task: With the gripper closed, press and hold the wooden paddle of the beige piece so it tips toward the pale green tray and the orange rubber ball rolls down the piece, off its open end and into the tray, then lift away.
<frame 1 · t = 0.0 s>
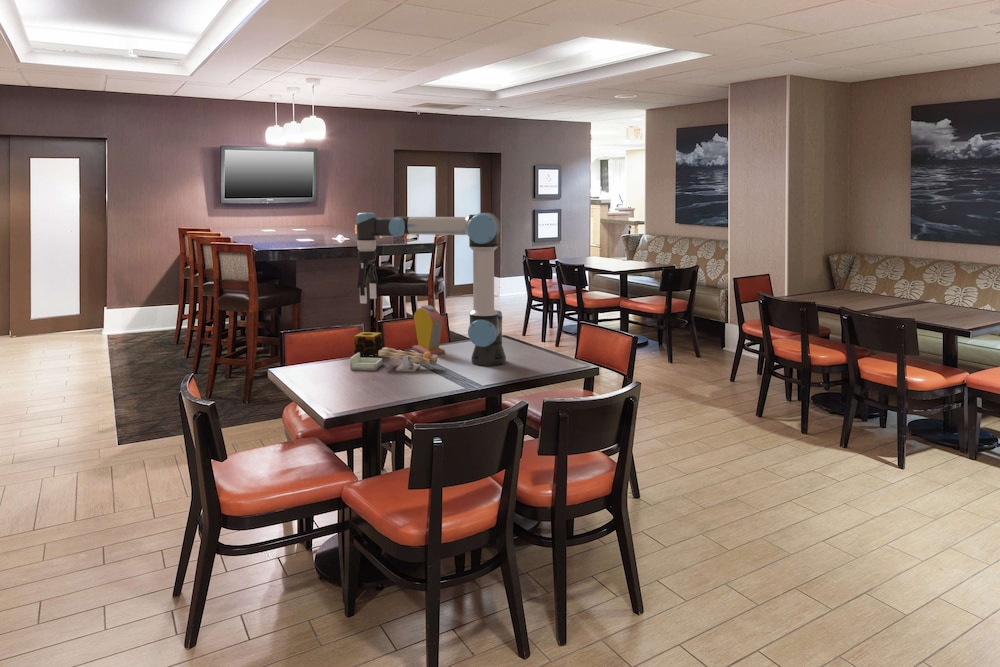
hand: (368, 301, 315), 28 cm above the table, fingers open, 13 cm apart
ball: (427, 355, 313), point 6 cm above the table, tilted 19°, touching beige piece
fulcrum: (408, 368, 315), on the table
beige piece: (408, 354, 317), point 5 cm above the table, hinge at -8.0°, touching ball
tray: (366, 367, 317), on the table
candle: (368, 356, 340), on the table
pink yellow-faced device: (428, 351, 348), on the table
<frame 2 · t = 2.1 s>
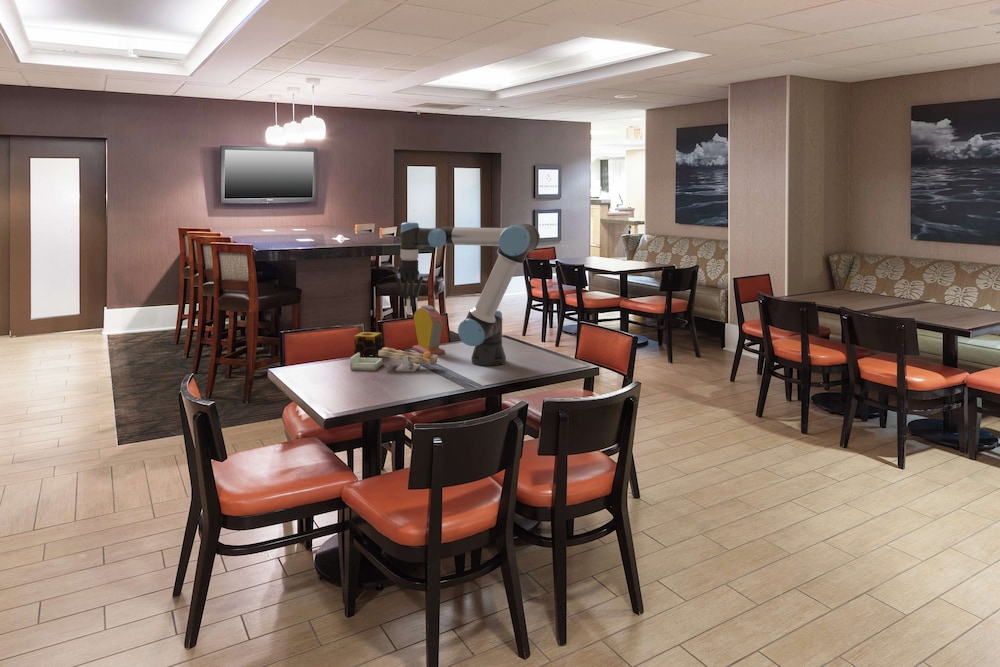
hand: (409, 313, 322), 21 cm above the table, fingers closed
nothing on the table moved.
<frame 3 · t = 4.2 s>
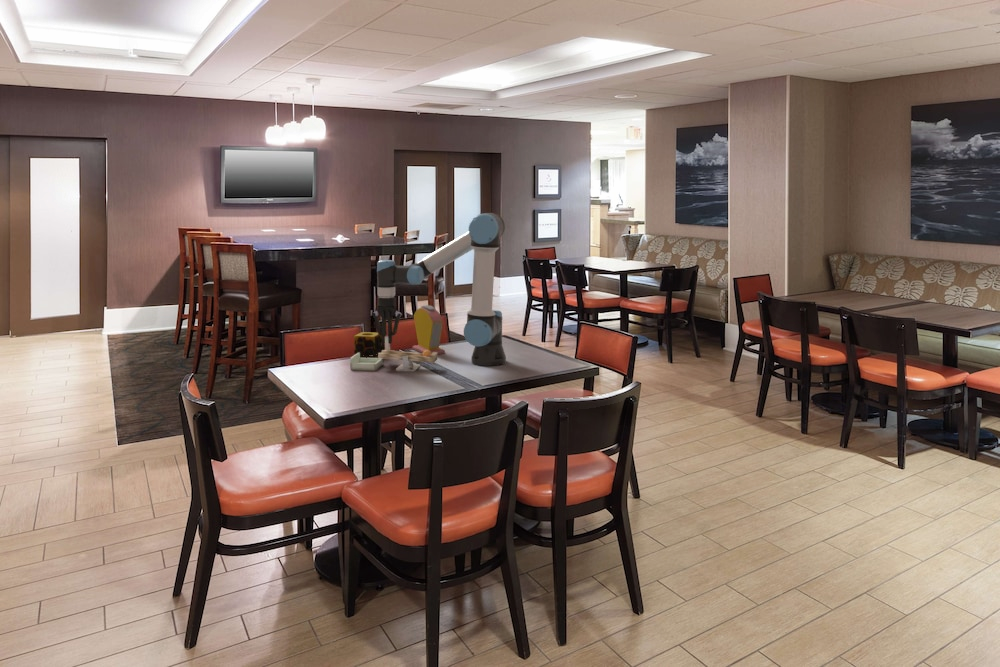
hand: (387, 350, 322), 6 cm above the table, fingers closed
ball: (427, 354, 313), point 6 cm above the table, tilted 14°, touching beige piece
beige piece: (408, 354, 317), point 5 cm above the table, hinge at -2.7°, touching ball, gripper
everything else where it was.
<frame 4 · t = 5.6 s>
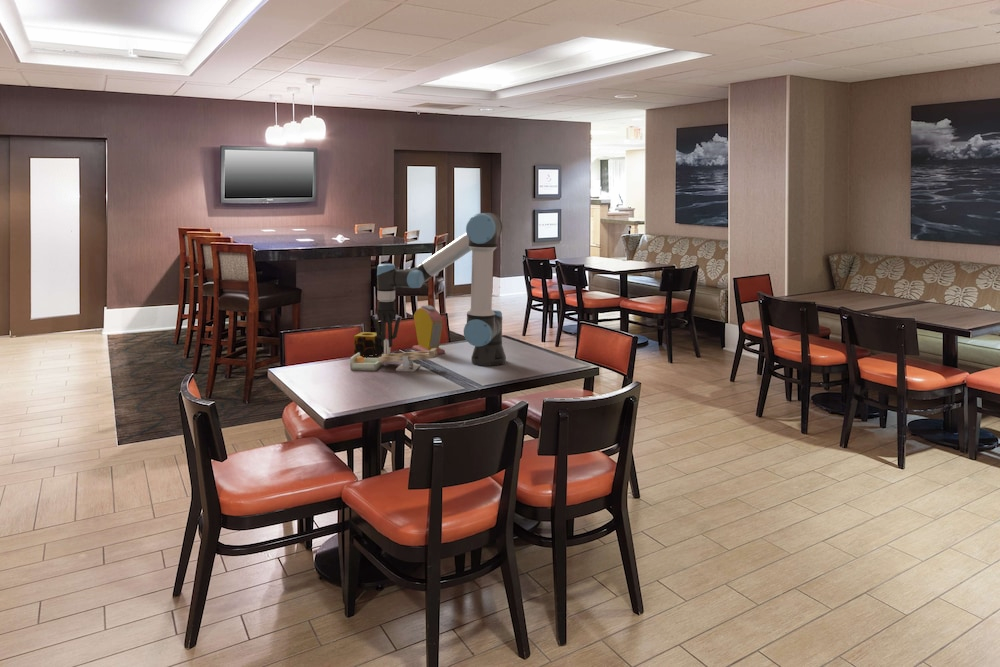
hand: (387, 354, 322), 4 cm above the table, fingers closed
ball: (360, 360, 317), point 3 cm above the table, tilted 150°, touching tray
beige piece: (408, 354, 317), point 5 cm above the table, hinge at 6.2°, touching gripper, tray
everything else where it was.
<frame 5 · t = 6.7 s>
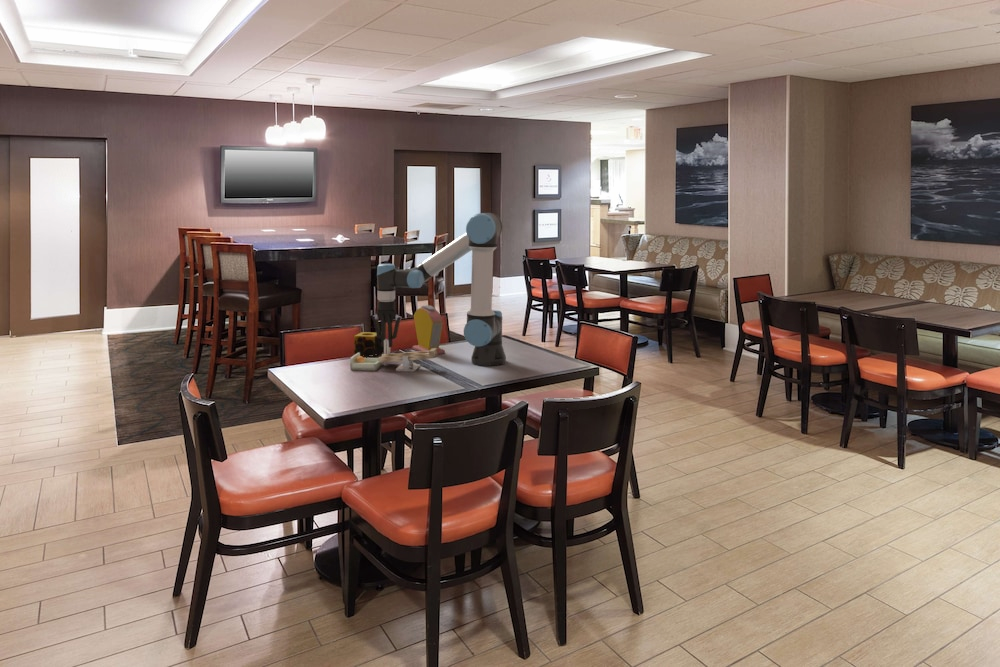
hand: (387, 354, 322), 4 cm above the table, fingers closed
nothing on the table moved.
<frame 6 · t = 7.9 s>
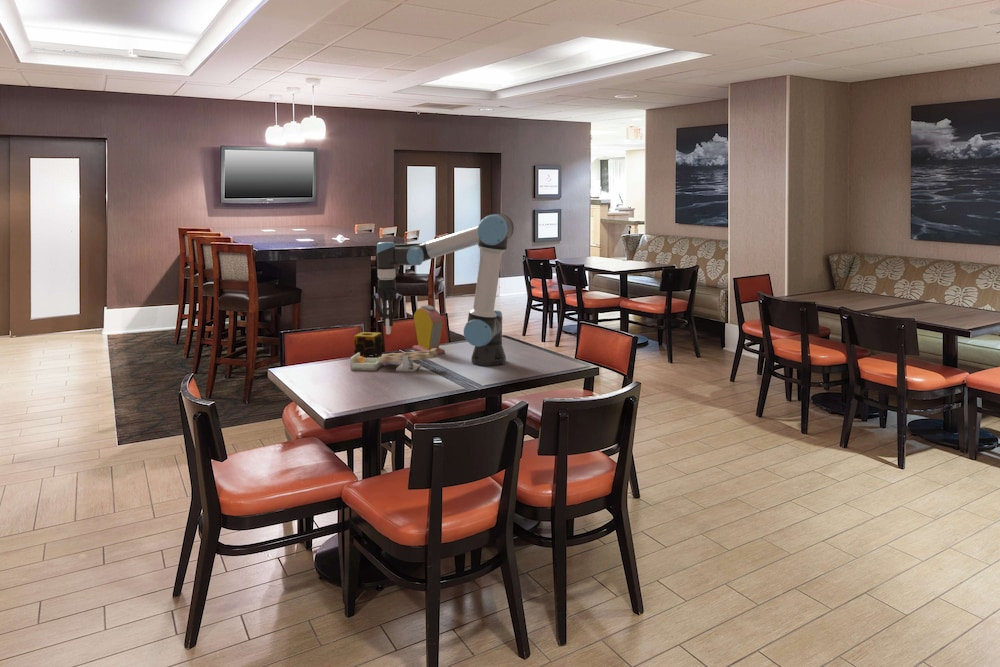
hand: (388, 333, 321), 13 cm above the table, fingers closed
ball: (360, 360, 317), point 3 cm above the table, tilted 160°, touching tray
beige piece: (408, 354, 317), point 5 cm above the table, hinge at 6.2°, touching tray
everything else where it was.
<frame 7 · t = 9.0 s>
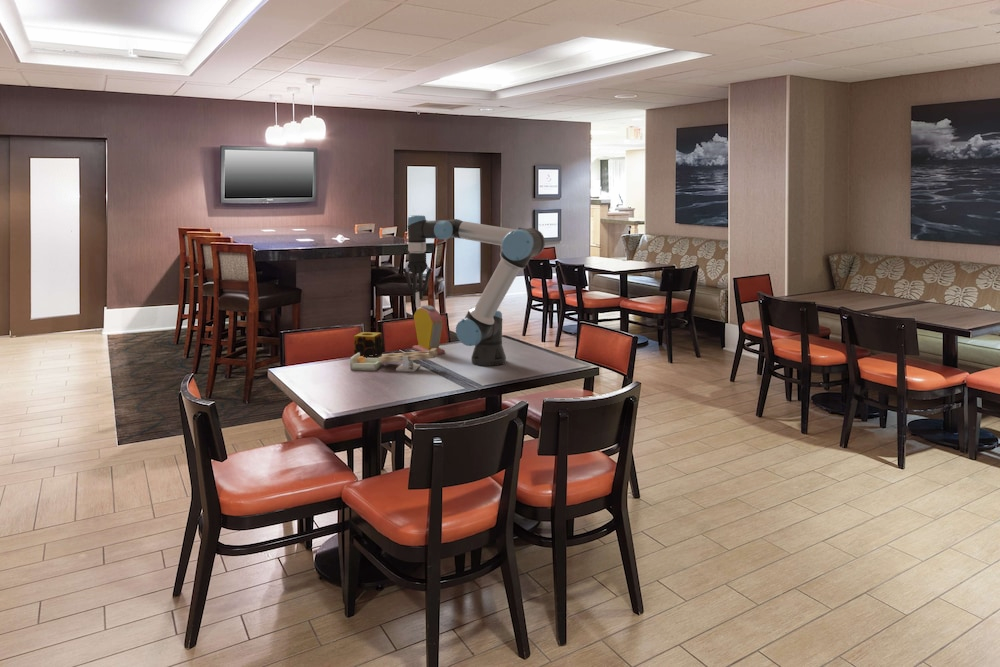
hand: (418, 307, 322), 24 cm above the table, fingers closed
nothing on the table moved.
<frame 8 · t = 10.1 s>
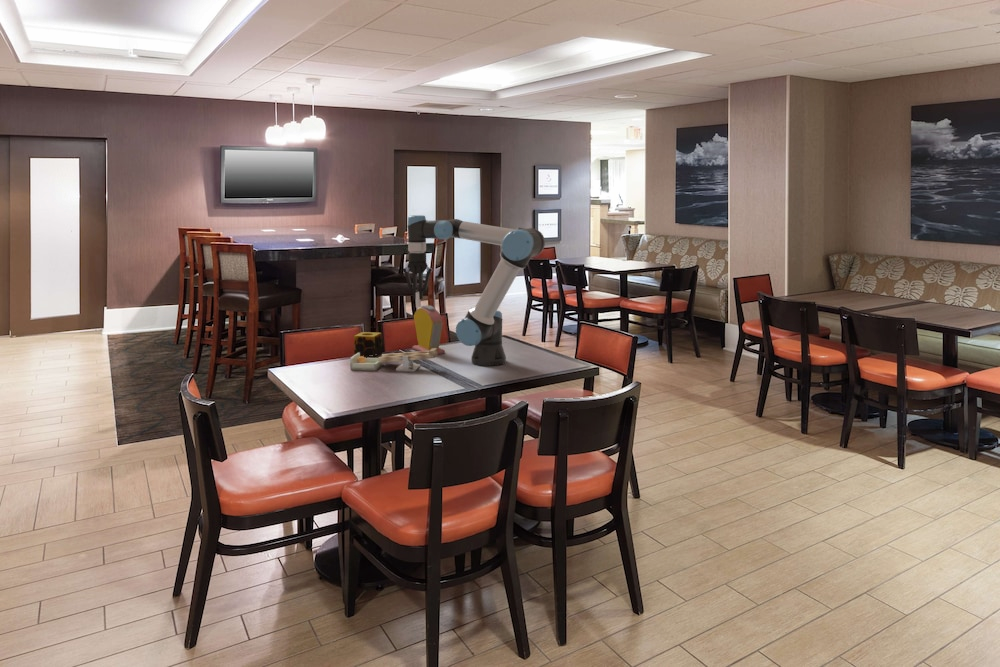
hand: (418, 306, 322), 24 cm above the table, fingers closed
nothing on the table moved.
at the end: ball inside the target area on the tray (2.2 cm from its centre), point 2.8 cm above the tray's base; beige piece at +6° (first picture: -8°) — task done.
